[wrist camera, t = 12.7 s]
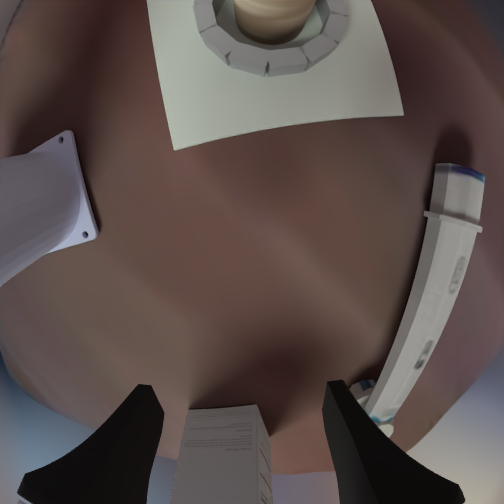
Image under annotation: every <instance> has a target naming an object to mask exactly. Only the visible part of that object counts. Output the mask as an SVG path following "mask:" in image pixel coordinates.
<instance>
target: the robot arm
mask: <svg viewBox="0 0 504 504" xmlns="http://www.w3.org/2000/svg"><path fill="white" fill-rule="evenodd" d="M62 137H63V143H62V142H61V139H62ZM85 231H86V232H87V233H88V236H87V235H86V234H85ZM98 233H99V232H98V228H97V225H96V222H95V219H94V215H93V212H92V209H91V205H90V202H89V198H88V195H87V191H86V187H85V183H84V179H83V175H82V171H81V167H80V163H79V158H78V154H77V149H76V144H75V139H74V134H73V132H72V131H71V130H66V131H64V132H62V133H60V134H58V135H57V136H55V137H53V138H51V139H50V140H48V141H46V142H45V143H43V144H42V145H40V146H38V147H37V148H35V149H34V150H32V151H30V152H29V153H27V154H22V155H17V156H11V157H6V158H1V159H0V286H2V285H3V284H4V283H5V282H7V281H8V280H9V279H11V278H12V277H13V276H15V275H16V274H17V273H19V272H20V271H22V270H23V269H24V268H26V267H27V266H29V265H30V264H31V263H33V262H34V261H36V260H37V259H39V258H40V257H42V256H43V255H44V254H47V253H50V252H53V251H56V250H59V249H63V248H66V247H69V246H73V245H76V244H80V243H83V242H86V241H90V240H93V239H95V238H96V237H97V236H98ZM322 413H323V421H324V428H325V433H326V437H327V441H328V445H329V448H330V452H331V456H332V460H333V464H334V467H335V471H336V476H337V481H338V489H339V497H340V504H463V503H464V502H465V498H464V495H463V492H462V490H461V489H460V487H459V485H458V484H456V483H454V482H452V481H450V480H447V479H445V478H443V477H441V476H440V475H438V474H436V473H434V472H432V471H431V470H429V469H427V468H426V467H424V466H423V465H421V464H420V463H418V462H417V461H416V460H414V459H413V458H411V457H410V456H409V455H407V454H406V453H405V452H404V451H403V450H401V449H400V448H399V447H398V446H397V445H396V444H395V443H394V442H392V441H391V440H390V439H389V438H388V437H387V436H386V435H385V434H384V432H383V431H382V430H381V429H380V428H379V427H378V426H377V425H376V424H375V423H374V421H373V420H372V419H371V418H370V417H369V415H368V414H367V413H366V412H365V410H364V409H363V408H362V407H361V405H360V404H359V403H358V401H357V400H356V398H355V397H354V396H353V394H352V393H351V391H350V390H349V388H348V387H347V385H346V384H345V382H344V381H343V380H336V381H329V382H327V386H326V392H325V397H324V403H323V408H322ZM163 421H164V411H163V409H162V407H161V405H160V403H159V401H158V399H157V397H156V395H155V392H154V390H153V388H152V386H151V385H143V384H138V385H137V386H136V388H135V389H134V390H133V391H132V392H131V393H130V394H129V396H128V397H127V398H126V399H125V400H124V401H123V403H122V404H121V405H120V406H119V407H118V408H117V409H116V411H115V412H114V413H113V414H112V415H111V416H110V417H109V418H108V419H107V420H106V421H105V422H104V423H103V424H102V425H101V426H100V427H99V428H98V429H97V430H96V431H95V432H94V433H93V434H92V435H91V436H90V437H89V438H88V439H86V440H85V441H84V442H83V443H81V444H80V445H79V446H78V447H76V448H75V449H73V450H72V451H71V452H69V453H68V454H66V455H65V456H63V457H61V458H60V459H58V460H56V461H54V462H52V463H50V464H48V465H46V466H44V467H42V468H39V469H37V470H34V471H31V472H29V473H26V474H25V475H24V477H23V479H22V482H21V484H20V486H19V489H18V491H17V493H18V494H19V495H20V496H21V497H23V498H24V499H26V500H27V501H29V502H31V503H32V504H146V503H147V492H148V484H149V478H150V473H151V469H152V465H153V462H154V458H155V455H156V451H157V448H158V444H159V441H160V437H161V433H162V428H163ZM18 504H26V503H24V502H22V501H21V500H19V501H18Z"/></svg>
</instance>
